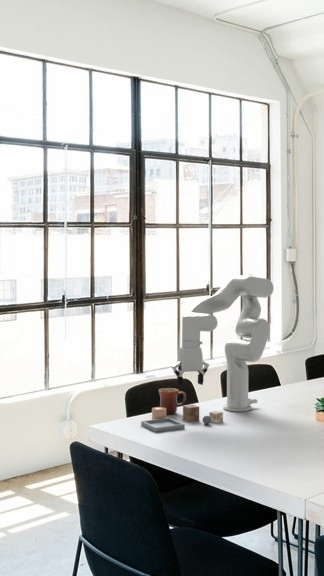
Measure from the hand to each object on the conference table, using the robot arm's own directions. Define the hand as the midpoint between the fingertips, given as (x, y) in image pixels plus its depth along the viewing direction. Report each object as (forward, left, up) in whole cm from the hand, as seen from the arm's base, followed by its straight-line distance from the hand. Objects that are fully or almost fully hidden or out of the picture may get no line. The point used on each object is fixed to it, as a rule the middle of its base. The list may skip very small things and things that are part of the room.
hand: (190, 385), depth 300 cm
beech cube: (-9, +7, -15) cm, 19 cm away
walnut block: (-1, 0, -15) cm, 15 cm away
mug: (0, -15, -15) cm, 21 cm away
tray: (+15, +5, -15) cm, 22 cm away
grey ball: (-3, +9, -13) cm, 16 cm away
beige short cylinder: (+11, -6, -15) cm, 20 cm away
